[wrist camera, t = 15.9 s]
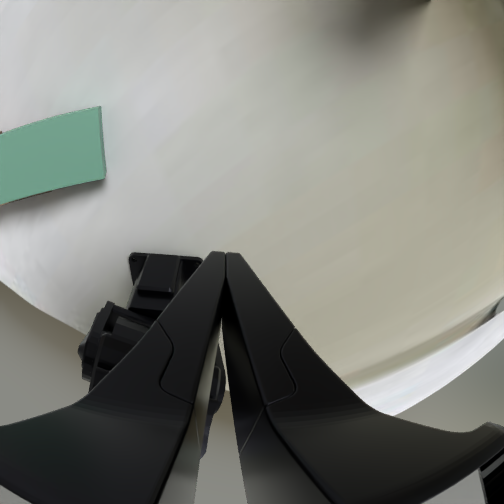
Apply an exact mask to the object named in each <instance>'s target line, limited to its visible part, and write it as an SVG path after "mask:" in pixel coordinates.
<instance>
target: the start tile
mask: <svg viewBox="0 0 504 504" xmlns="http://www.w3.org/2000/svg"><path fill="white" fill-rule="evenodd" d="M105 174H106V164H105V155H104V144H103V132H102V115H101V106H99V107H93V108H88V109H83V110H79V111H74V112H70V113H66V114H62V115H58V116H54V117H51V118H47V119H43V120H40V121H37V122H33V123H30V124H27V125H24V126H21V127H18V128H15V129H13V130H10V131H7V132H4V133H2V134H0V205H1V204H4V203H7V202H11V201H14V200H17V199H21V198H24V197H28V196H31V195H35V194H39V193H42V192H46V191H50V190H54V189H58V188H63V187H67V186H71V185H76V184H81V183H85V182H90V181H95V180H100V179H105Z"/></svg>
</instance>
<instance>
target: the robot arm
mask: <svg viewBox="0 0 504 504" xmlns="http://www.w3.org/2000/svg"><path fill="white" fill-rule="evenodd" d="M134 258H136V259H134ZM196 263H200V264H196ZM129 264H130V270H131V275H132V281H133V286H134V287H133V289H132V292H131V295H130V298H129V301H128V304H127V307H126V309H125V308H122V307H119V306H117V305H114V304H115V303H112V302H110V301H107V303H106V305H105V307H104V308H102V309H101V311H100V312H99V313H97V315H96V317H95V320H94V322H93V325H92V327H91V329H90V331H89V332H88V334H87V335H86V337H85V338H84V340H83V341H82V342H81V344H80V345H79V348H78V354H79V356H80V358H81V360H82V368H83V369H82V379H84V380H87V381H89V382H90V387H89V392H88V394H87V395H86V396H84V397H83V398H82V399H80V400H79V401H77V402H75V403H74V404H72V405H69V406H67V407H64V408H61V409H58V410H55V411H52V412H49V413H46V414H43V415H40V416H36V417H33V418H30V419H26V420H23V421H20V422H16V423H12V424H9V425H4V426H0V504H194V499H195V492H196V484H197V477H198V470H199V462H200V459H201V458H202V457H203V455H204V454H205V452H206V448H207V442H208V435H209V430H210V425H211V422H212V418H213V415H214V414H215V413H216V412H217V411H218V409H219V407H220V405H221V403H222V400H223V397H224V392H225V385H226V375H225V370H224V365H223V361H222V356H221V352H220V347H219V343H218V340H219V335H220V328H221V319H222V332H223V341H224V350H225V358H226V367H227V375H228V382H229V390H230V397H231V404H232V412H233V418H234V426H235V432H236V439H237V445H238V451H239V455H240V456H239V458H240V463H241V470H242V475H243V481H244V487H245V492H246V498H247V503H248V504H504V427H503V426H501V425H498V424H494V423H491V422H486V423H484V424H483V425H482V426H480V427H478V428H476V429H475V430H473V431H470V432H460V433H458V432H450V431H444V430H440V429H436V428H432V427H428V426H425V425H421V424H417V423H413V422H410V421H406V420H403V419H400V418H396V417H393V416H390V415H387V414H384V413H381V412H379V411H377V410H375V409H374V408H372V407H370V406H369V405H368V404H366V403H365V402H364V401H363V400H362V399H360V398H359V397H358V396H357V395H356V394H355V393H354V392H353V391H352V390H351V389H350V388H349V387H348V386H347V385H346V384H345V383H344V382H343V381H342V380H341V379H340V378H339V377H338V376H337V375H336V374H335V373H334V372H333V371H332V370H331V369H330V368H329V366H328V365H327V364H326V363H325V362H324V361H323V360H322V359H321V358H320V357H319V356H318V355H317V354H316V352H315V351H314V350H313V349H312V348H311V346H310V345H309V344H308V343H307V341H306V340H305V339H304V338H303V336H302V335H301V334H300V333H299V331H298V330H297V329H296V328H295V326H294V325H293V323H292V322H291V321H290V319H289V318H288V317H287V316H286V314H285V313H284V312H283V310H282V309H281V308H280V306H279V305H278V304H277V302H276V301H275V300H274V298H273V297H272V296H271V294H270V293H269V292H268V290H267V289H266V288H265V286H264V285H263V284H262V282H261V281H260V280H259V278H258V277H257V276H256V274H255V273H254V272H253V270H252V269H251V268H250V266H249V265H248V264H247V262H246V261H245V260H244V258H243V257H242V256H241V254H240V253H232V252H227V253H226V255H225V253H224V252H218V251H212V252H210V254H209V255H208V256H207V257H206V258H205V260H204V261H203V260H202V259H201V258H199V257H189V256H177V255H164V254H149V253H136V252H134V253H131V254H130V256H129Z"/></svg>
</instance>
